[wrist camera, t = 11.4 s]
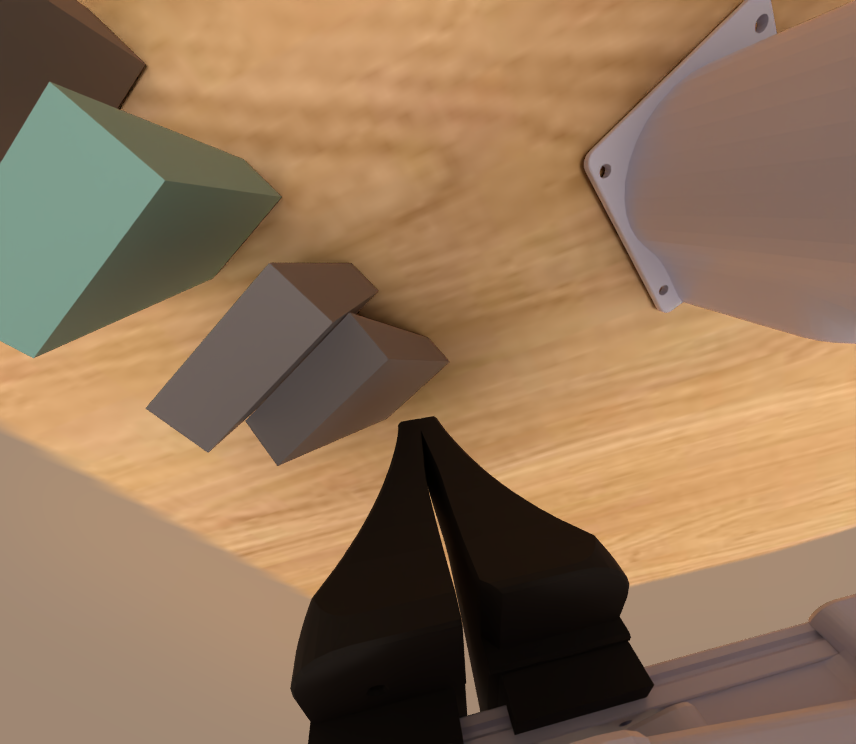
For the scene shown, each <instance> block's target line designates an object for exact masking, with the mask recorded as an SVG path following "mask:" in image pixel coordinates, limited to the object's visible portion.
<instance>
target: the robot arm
mask: <svg viewBox="0 0 856 744" xmlns="http://www.w3.org/2000/svg"><path fill="white" fill-rule="evenodd" d="M756 22H757V29H756V31H755V24H756ZM602 166H604V167H605V174H604V176H603V177H602V178H601V177H600V173H599V172H600V168H601V167H602ZM584 169H585V172H586V174H587V176H588V177H589V179H590V181H591V183H592V185H593V187H594V189H595V191H596V193H597V195H598V197H599V199H600V200H601V202H602V204H603V206H604V208H605V210H606V212H607V214H608V216H609V218H610V220H611V222H612V223H613V225H614V227H615V229H616V231H617V233H618V235H619V237H620V239H621V241H622V243H623V245H624V247H625V248H626V250H627V252H628V254H629V256H630V258H631V260H632V262H633V264H634V266H635V268H636V270H637V271H638V273H639V275H640V277H641V279H642V281H643V283H644V285H645V287H646V289H647V291H648V293H649V294H650V296H651V298H652V300H653V302H654V304H655V306H656V308H657V309H658V310H659V311H662V312H665V313H667V312H670V311H672V310H673V309H675V308H676V307H677V306H678V305H680V304H681V303H682V302H685V303H688V304H692V305H695V306H698V307H702V308H705V309H709V310H712V311H715V312H719V313H722V314H726V315H729V316H732V317H736V318H739V319H743V320H746V321H749V322H753V323H756V324H760V325H763V326H766V327H770V328H773V329H777V330H780V331H783V332H787V333H790V334H794V335H797V336H800V337H804V338H809V339H814V340H818V341H826V342H834V343H855V344H856V0H854V1H852V2H849V3H847V4H845V5H842V6H840V7H838V8H836V9H833V10H831V11H829V12H826V13H824V14H822V15H819V16H817V17H815V18H812V19H810V20H808V21H805V22H803V23H801V24H798V25H796V26H794V27H791V28H789V29H787V30H784V31H782V32H780V33H777V31H776V26H775V20H774V15H773V9H772V4H771V0H744V1H743V2H742V3H741V4H740V5H739V6H738V7H737V8H736V9H735V10H734V11H733V12H732V13H731V14H730V15H729V16H728V17H727V18H726V19H725V20H724V21H723V22H722V23H721V24H720V25H719V26H718V27H717V28H716V29H715V30H714V31H713V32H712V33H711V34H709V35H708V36H707V37H706V38H705V39H704V40H703V41H702V42H701V43H700V44H699V45H698V46H697V47H696V48H695V49H694V50H693V51H692V52H691V53H690V54H689V55H688V56H687V57H686V58H685V59H684V60H683V61H682V62H681V63H680V64H679V65H678V66H677V67H675V68H674V69H673V70H672V71H671V72H670V73H669V74H668V75H667V76H666V77H665V78H664V79H663V80H662V81H661V82H660V83H659V84H658V85H657V86H656V87H655V88H654V89H653V90H652V91H651V92H650V93H649V94H648V95H647V96H646V97H645V98H644V99H643V100H642V101H640V102H639V103H638V104H637V105H636V106H635V107H634V108H633V109H632V110H631V111H630V112H629V113H628V114H627V115H626V116H625V117H624V118H623V119H622V120H621V121H620V122H619V123H618V124H617V125H616V126H615V127H614V128H613V129H612V130H611V131H610V132H609V133H608V134H606V135H605V136H604V137H603V138H602V139H601V140H600V141H599V142H598V143H597V144H596V145H595V146H594V147H593V148H592V149H591V150H590V151H589V152H588V154H587V155H586V157H585V160H584ZM661 287H662V289H661V291H660V292H659V290H660V288H661ZM428 490H429V491H428ZM429 493H430V495H429ZM430 496H431V499H432V503H433V506H434V509H435V512H436V516H437V519H438V522H439V525H440V529H441V532H442V535H443V538H444V541H445V545H446V549H447V553H448V557H449V561H450V566H451V571H452V575H453V580H454V585H455V589H456V593H455V589H454V586H453V582H452V579H451V575H450V572H449V568H448V564H447V561H446V557H445V553H444V550H443V546H442V542H441V539H440V535H439V531H438V527H437V523H436V519H435V515H434V511H433V507H432V503H431V499H430ZM628 589H629V581H628V579H627V576H626V575H625V573H624V572H623V571H622V569H621V568H620V566H619V565H618V563H617V562H616V561H615V559H614V558H613V557H612V556H611V554H610V553H609V552H608V551H607V549H606V548H605V547H604V546H603V545H602V544H601V543H600V541H599V540H598V539H597V538H596V537H595V536H594V535H592V534H590V533H588V532H586V531H584V530H582V529H580V528H577V527H575V526H573V525H571V524H569V523H567V522H565V521H562V520H560V519H558V518H556V517H554V516H553V515H551V514H549V513H547V512H545V511H543V510H542V509H540V508H538V507H536V506H535V505H533V504H532V503H530V502H528V501H527V500H525V499H524V498H522V497H520V496H519V495H517V494H516V493H514V492H513V491H511V490H510V489H508V488H507V487H506V486H504V485H503V484H502V483H500V482H499V481H498V480H496V479H495V478H494V477H492V476H491V475H490V474H489V473H488V472H486V471H485V470H484V469H483V468H482V467H481V466H479V465H478V464H477V463H476V462H475V461H474V460H473V459H472V458H471V457H470V456H469V455H468V454H467V453H466V452H465V451H464V450H463V449H462V448H461V447H460V446H459V445H458V444H457V443H456V442H455V441H454V440H453V438H452V437H451V436H450V435H449V434H448V433H447V431H446V430H445V429H444V428H443V426H442V425H441V424H440V422H439V421H438V419H437V418H436V417H434V416H432V417H426V418H421V419H415V420H409V421H403V422H400V424H399V425H398V437H397V442H396V447H395V451H394V454H393V458H392V461H391V464H390V467H389V470H388V473H387V475H386V478H385V481H384V483H383V486H382V488H381V490H380V493H379V495H378V497H377V499H376V501H375V503H374V505H373V507H372V509H371V511H370V513H369V515H368V517H367V519H366V521H365V522H364V524H363V526H362V528H361V529H360V531H359V533H358V534H357V536H356V537H355V539H354V541H353V542H352V544H351V545H350V547H349V548H348V550H347V551H346V553H345V554H344V556H343V557H342V559H341V560H340V562H339V563H338V565H337V566H336V567H335V569H334V570H333V571H332V573H331V574H330V575H329V577H328V578H327V579H326V581H325V582H324V583H323V585H322V586H321V587H320V588H319V590H318V591H317V592H316V594H315V595H314V596H313V598H312V599H311V602H310V605H309V608H308V611H307V614H306V617H305V620H304V623H303V626H302V630H301V634H300V638H299V641H298V646H297V650H296V656H295V662H294V669H293V675H292V682H291V688H290V689H291V692H292V695H293V697H294V699H295V700H296V701H297V703H298V705H299V706H300V707H301V709H302V710H303V712H304V713H305V715H306V716H307V717H308V719H309V720H310V722H311V723H310V731H309V740H308V744H856V594H853V595H850V596H846V597H843V598H839V599H835V600H832V601H829V602H827V603H825V604H823V605H822V606H820V607H819V608H818V609H816V610H815V611H814V612H813V613H812V615H811V616H810V617H809V622H806V623H803V624H799V625H795V626H792V627H789V628H785V629H781V630H777V631H773V632H770V633H767V634H763V635H759V636H755V637H752V638H748V639H745V640H741V641H738V642H734V643H730V644H726V645H723V646H719V647H716V648H712V649H708V650H704V651H701V652H697V653H694V654H690V655H686V656H683V657H679V658H675V659H672V660H668V661H664V662H661V663H657V664H653V665H650V666H646V667H643V665H642V664H641V662H640V660H639V659H638V657H637V655H636V653H635V652H634V650H633V648H632V647H631V645H630V643H629V642H628V641H629V640H630V638H631V636H630V633H629V631H628V630H627V628H626V626H625V625H624V623H623V621H622V620H621V618H620V614H621V612H622V609H623V606H624V603H625V601H626V598H627V595H628ZM456 594H457V597H456ZM457 599H458V602H457ZM458 604H459V606H458ZM459 609H460V611H459ZM460 613H461V615H460ZM461 618H462V620H461ZM462 623H463V626H462ZM463 628H464V633H465V637H466V643H467V647H468V652H469V657H470V662H471V667H472V672H473V677H474V682H475V687H476V692H477V697H478V702H479V707H480V712H479V713H476V714H472V715H468V716H467V706H466V691H465V684H466V673H465V658H464V643H463V642H464V641H463Z"/></svg>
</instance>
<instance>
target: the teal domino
mask: <svg viewBox="0 0 856 744" xmlns="http://www.w3.org/2000/svg"><path fill="white" fill-rule="evenodd" d="M280 198H281V196H280V195H279V194H278V193H277V192H276V191H275V190H274V189H273V188H272V187H271V186H270V185H269V184H268V183H267V182H266V181H265V180H264V179H263V178H262V177H261V176H260V175H259V174H258V173H257V172H256V171H255V170H254V169H253V168H252V167H251V166H250V165H249V164H248V163H247V162H246V161H245V160H244V159H241V158H239V157H236V156H234V155H232V154H229V153H227V152H224V151H222V150H219V149H217V148H214V147H212V146H209V145H207V144H204V143H202V142H199V141H197V140H194V139H192V138H189V137H187V136H184V135H182V134H179V133H177V132H174V131H172V130H169V129H167V128H164V127H162V126H159V125H157V124H154V123H152V122H149V121H147V120H144V119H142V118H139V117H137V116H134V115H132V114H129V113H127V112H124V111H122V110H119V109H117V108H114V107H112V106H109V105H107V104H104V103H102V102H99V101H97V100H94V99H92V98H89V97H87V96H84V95H82V94H79V93H77V92H74V91H72V90H69V89H67V88H64V87H62V86H60V85H57V84H55V83H52V82H50V81H49V83H48V85H47V86H46V88H45V90H44V91H43V93H42V95H41V96H40V98H39V100H38V101H37V103H36V105H35V106H34V108H33V110H32V111H31V113H30V115H29V116H28V118H27V120H26V121H25V123H24V125H23V126H22V128H21V130H20V131H19V133H18V135H17V136H16V138H15V140H14V141H13V143H12V145H11V146H10V148H9V150H8V151H7V153H6V155H5V156H4V158H3V160H2V161H1V163H0V341H1V342H3V343H5V344H7V345H9V346H11V347H13V348H15V349H17V350H19V351H21V352H23V353H24V354H26V355H28V356H30V357H32V358H35V357H37V356H40V355H42V354H44V353H46V352H49V351H51V350H53V349H55V348H58V347H60V346H62V345H64V344H67V343H69V342H71V341H73V340H76V339H78V338H80V337H82V336H84V335H87V334H89V333H91V332H93V331H96V330H98V329H100V328H102V327H105V326H107V325H109V324H111V323H114V322H116V321H118V320H120V319H123V318H125V317H127V316H129V315H132V314H134V313H136V312H138V311H141V310H143V309H145V308H147V307H150V306H152V305H154V304H156V303H159V302H161V301H163V300H165V299H167V298H170V297H172V296H174V295H176V294H179V293H181V292H183V291H185V290H188V289H190V288H192V287H194V286H197V285H199V284H201V283H203V282H206V281H208V280H210V279H212V278H214V277H215V275H216V274H217V273H218V272H219V271H220V269H221V268H222V267H223V266H224V265H225V263H226V262H227V261H228V260H229V259H230V258H231V256H232V255H233V254H234V253H235V252H236V250H237V249H238V248H239V247H240V246H241V245H242V243H243V242H244V241H245V240H246V239H247V237H248V236H249V235H250V234H251V233H252V232H253V230H254V229H255V228H256V227H257V226H258V224H259V223H260V222H261V221H262V220H263V219H264V217H265V216H266V215H267V214H268V213H269V211H270V210H271V209H272V208H273V207H274V206H275V204H276V203H277V202H278V201H279V200H280Z"/></svg>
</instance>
